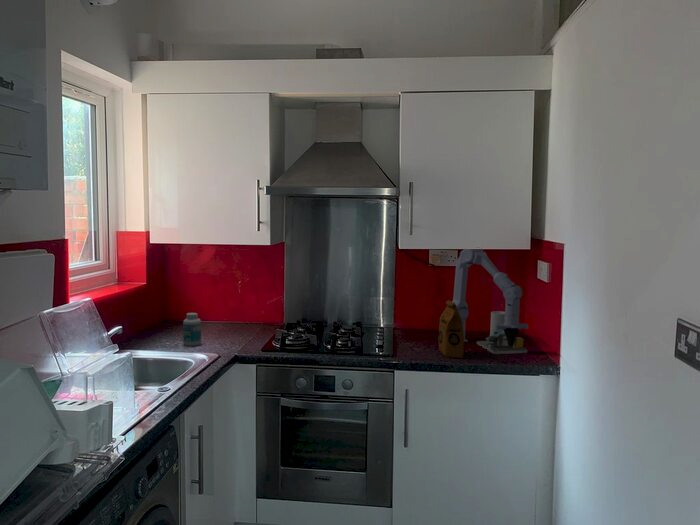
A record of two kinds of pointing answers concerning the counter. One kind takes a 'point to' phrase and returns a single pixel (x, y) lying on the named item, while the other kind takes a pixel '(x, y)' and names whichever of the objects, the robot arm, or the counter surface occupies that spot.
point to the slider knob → (518, 342)
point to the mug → (497, 321)
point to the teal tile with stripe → (497, 335)
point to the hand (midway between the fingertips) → (510, 345)
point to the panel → (500, 346)
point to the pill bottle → (192, 330)
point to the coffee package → (451, 332)
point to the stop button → (492, 339)
